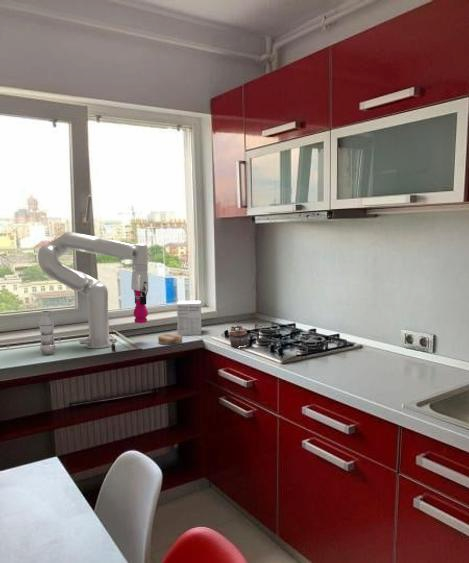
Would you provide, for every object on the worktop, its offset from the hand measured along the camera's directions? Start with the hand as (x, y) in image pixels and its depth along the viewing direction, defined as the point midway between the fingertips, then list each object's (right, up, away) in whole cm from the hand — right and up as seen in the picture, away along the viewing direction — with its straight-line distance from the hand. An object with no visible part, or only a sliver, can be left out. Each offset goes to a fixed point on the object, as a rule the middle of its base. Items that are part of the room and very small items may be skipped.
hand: (140, 303), depth 235 cm
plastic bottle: (-38, -23, -22) cm, 49 cm away
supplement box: (+23, -18, +26) cm, 38 cm away
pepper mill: (0, -10, +1) cm, 10 cm away
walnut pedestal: (+15, -20, +2) cm, 25 cm away
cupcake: (+50, -20, -10) cm, 55 cm away
